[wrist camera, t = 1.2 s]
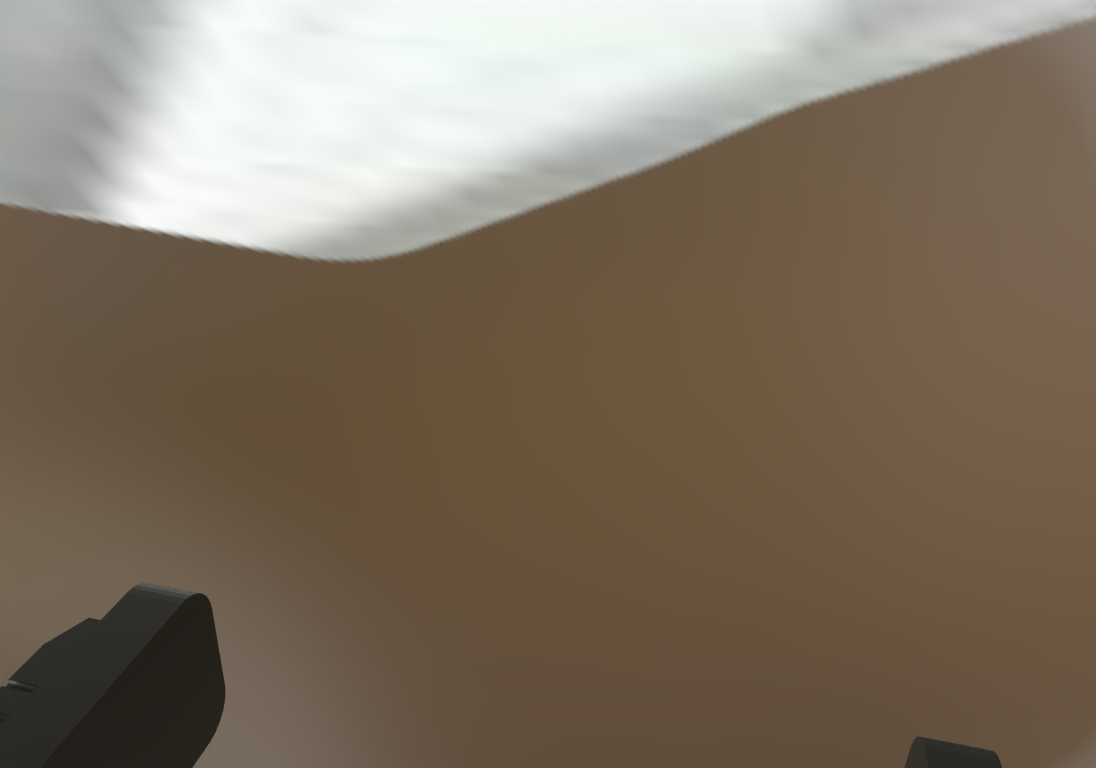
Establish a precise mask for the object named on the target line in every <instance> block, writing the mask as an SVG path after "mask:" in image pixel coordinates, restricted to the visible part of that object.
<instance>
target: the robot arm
mask: <svg viewBox="0 0 1096 768" xmlns="http://www.w3.org/2000/svg"><path fill="white" fill-rule="evenodd" d="M224 703H225V683H224V677H223V671H222V665H221V659H220V653H219V647H218V642H217V635H216V629H215V623H214V618H213V612H212V607H211V603H210V601H209V599H208V598H207V596H205V595H204V594H201V593H196V592H191V591H185V590H180V589H176V588H170V587H165V586H160V585H155V584H150V583H141V584H138V585H136V586H135V587H133V588H132V589H131V590H129V591H128V592H127V593H126V595H124V596H123V597H122V599H121V600H120V601H119V602H118V603H117V604H116V605H115V606H114V607H113V608H112V609H111V610H110V611H109V612H108V613H107V614H106V615H105V616H104V618H102V619H101V620H97V619H92V618H88V619H86V620H84V621H83V622H81V623H79V624H78V625H76V626H74V627H73V628H71V629H69V630H67V631H66V632H64V633H63V634H61V635H59V636H57V637H55V638H54V639H52V640H51V641H49V642H47V643H45V644H44V645H43V646H42V647H41V648H40V649H39V650H38V651H37V652H36V653H35V654H34V655H33V656H32V657H31V658H30V659H29V660H28V661H27V662H26V663H25V664H24V665H23V666H21V668H19V669H18V670H17V672H15V674H13V675H12V677H10V679H9V683H8V685H7V686H6V687H3V686H2V687H1V688H0V768H192V767H193V766H194V764H195V763H196V762H197V760H198V759H199V757H200V756H201V754H202V753H203V751H204V750H205V748H206V747H207V746H208V744H209V743H210V741H211V739H212V737H213V736H214V734H215V732H216V730H217V727H218V725H219V722H220V719H221V716H222V712H223V708H224ZM905 768H1002V766H1001V763H1000V760H999V758H998V756H997V754H996V753H995V752H994V751H991V750H986V749H981V748H976V747H970V746H966V745H960V744H955V743H950V742H945V741H939V740H935V739H930V738H925V737H920V736H917V737H916V738H915V739H914V741H913V743H912V745H911V748H910V751H909V754H908V758H907V761H906V764H905Z"/></svg>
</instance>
